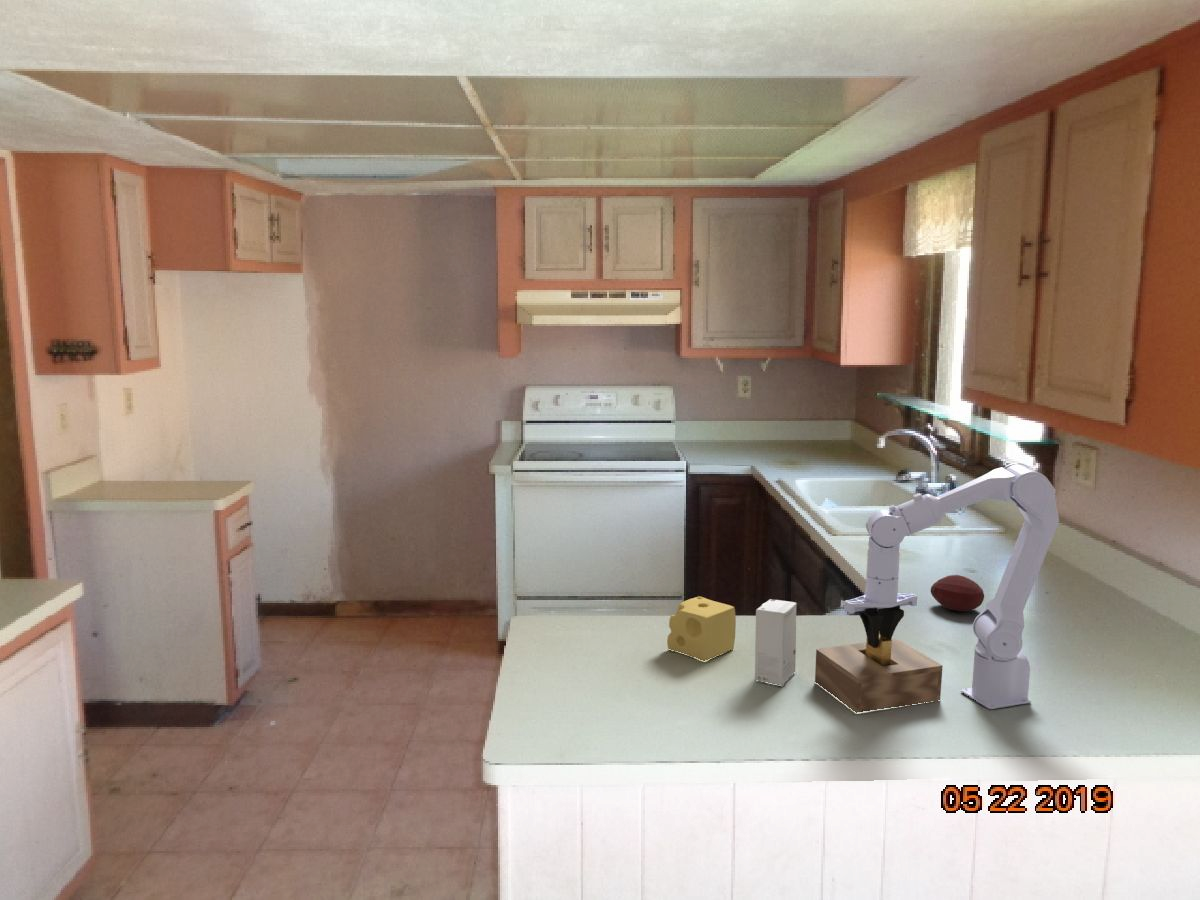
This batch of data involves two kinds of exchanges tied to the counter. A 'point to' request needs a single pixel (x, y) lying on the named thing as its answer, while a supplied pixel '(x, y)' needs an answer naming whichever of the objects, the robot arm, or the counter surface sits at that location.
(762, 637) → the skincare box
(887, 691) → the coin box
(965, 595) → the american football
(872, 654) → the block
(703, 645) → the cheese
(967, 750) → the counter surface
